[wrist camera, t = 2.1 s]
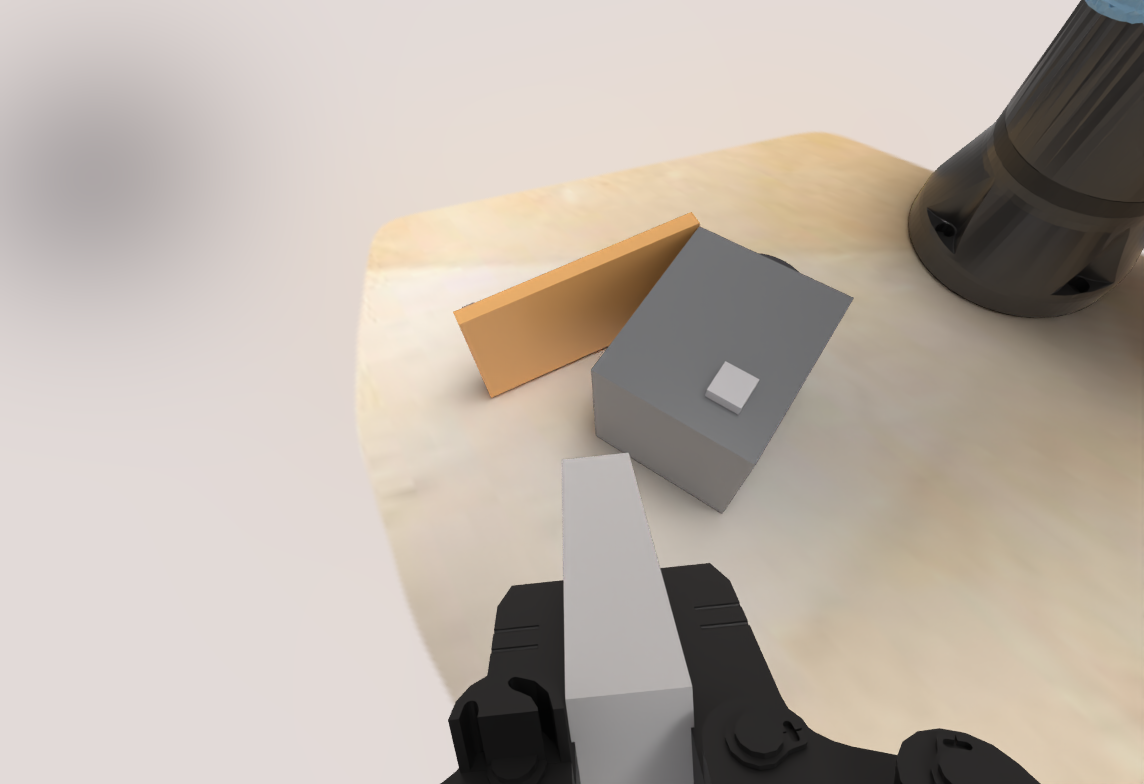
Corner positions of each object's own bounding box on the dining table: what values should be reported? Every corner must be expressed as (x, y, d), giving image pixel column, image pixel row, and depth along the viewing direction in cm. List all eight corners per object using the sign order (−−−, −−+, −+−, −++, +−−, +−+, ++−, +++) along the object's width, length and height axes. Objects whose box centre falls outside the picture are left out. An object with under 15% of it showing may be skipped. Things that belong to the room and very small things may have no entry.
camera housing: (698, 292, 46) (720, 190, 36) (817, 352, 43) (877, 259, 33) (595, 435, 41) (590, 362, 32) (722, 513, 38) (758, 460, 29)
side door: (671, 295, 46) (685, 203, 37) (682, 312, 45) (699, 222, 36) (482, 378, 44) (448, 302, 35) (491, 397, 43) (458, 324, 34)
